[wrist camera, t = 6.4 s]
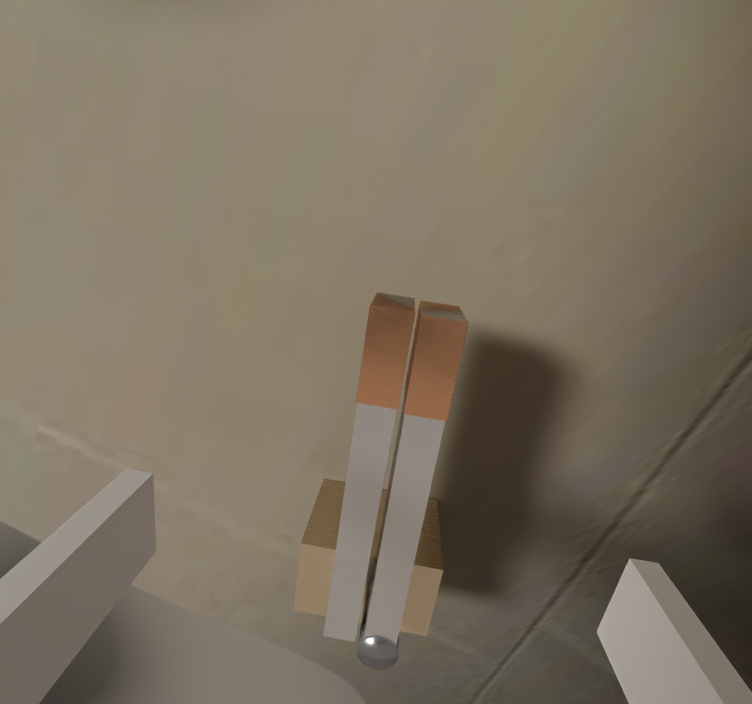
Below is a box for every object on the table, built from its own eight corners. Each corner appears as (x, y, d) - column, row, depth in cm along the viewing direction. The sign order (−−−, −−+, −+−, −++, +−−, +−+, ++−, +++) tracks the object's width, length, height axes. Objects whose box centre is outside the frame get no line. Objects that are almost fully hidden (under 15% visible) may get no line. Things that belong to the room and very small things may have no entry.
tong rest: (349, 270, 24) (313, 296, 15) (485, 292, 23) (527, 331, 15) (316, 536, 30) (276, 663, 21) (424, 556, 29) (428, 693, 21)
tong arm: (416, 299, 18) (417, 315, 15) (462, 306, 17) (472, 323, 14) (362, 607, 23) (354, 665, 20) (396, 613, 23) (394, 672, 20)
